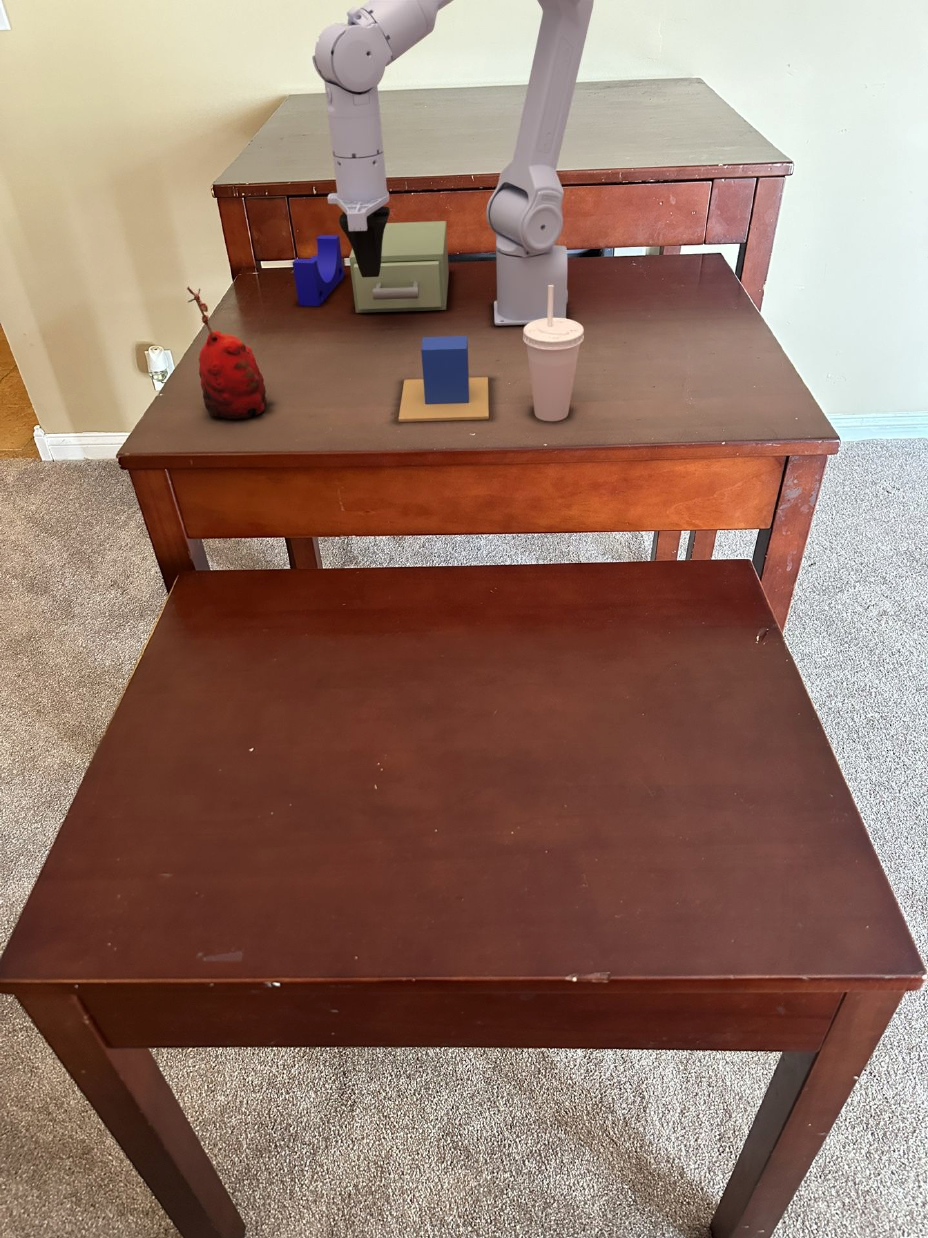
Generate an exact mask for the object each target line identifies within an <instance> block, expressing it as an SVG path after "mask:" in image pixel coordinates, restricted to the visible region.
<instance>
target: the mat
mask: <svg viewBox="0 0 928 1238" xmlns="http://www.w3.org/2000/svg"><path fill="white" fill-rule="evenodd" d="M489 415H490V412H489V377H488V376H481V377H469V403H453V404H425V395H424V381H423V378H415V379H414V378H413V379H409V378H408V379H404V380H403V387H402V393H401V400H400V407H399V413H398V423H407V422H411V423H412V422H413V423H414V422H442V421H443V422H444V421H445V422H446V421H447V422H448V421H479V420H480V421H482V420H483V421H484V420H489V419H490V417H489Z"/></svg>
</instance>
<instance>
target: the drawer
mask: <svg viewBox="0 0 928 1238" xmlns="http://www.w3.org/2000/svg"><path fill="white" fill-rule="evenodd" d="M354 275H355V284H356V292H357V301H358V309H388V308H418V307H441V290H440V272H439V261H437V260H420V261H392V262H381V268H380V273H379V277H362V276H361V273H360V271H359V268H358V264H354Z"/></svg>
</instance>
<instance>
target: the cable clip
mask: <svg viewBox="0 0 928 1238" xmlns="http://www.w3.org/2000/svg"><path fill="white" fill-rule="evenodd" d="M316 246H317V248H316V249H317V255H312V256H311V257H310V258H295V259H294V260H293V261H292V262H291V263H292V269H293V276H294V282H295V288H296V293H297V302H298V306H301V307H303V306H304V307H320V306H321V305H322V304H323V302H324V301H325V300H326V299H327V298H328V297H329V296H330V294H331V293H332V292H333V291H334V290H335V288H336V287H337V286H338V285H339V284H340V282H342V280H343V279H344V278H345V272H344V271H345V270H344V265H343V264H344V263H343V257H342V255H343V254H342V248H341V239H340V235H328V234H327V235H324V234H323V235H322V234H320V235H319V236H317V238H316Z"/></svg>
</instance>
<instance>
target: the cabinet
mask: <svg viewBox="0 0 928 1238" xmlns="http://www.w3.org/2000/svg"><path fill="white" fill-rule="evenodd" d="M447 231H448V229H447V221H446V220H437V221H436V220H435V221H434V220H433V221H413V222H412V221H411V222H410V221H409V222H408V221H407V222H387V223H386V226H385V229H384V234H383V242H382V257H381V262H392V261H420V260H437V261H439V272H440V290H441V307H418V308H388V309H358V301H357V292H356V284H355V275H354V264H357V261H356V258H355V255H354V251H353V249H352V248H351V251H350V254H349V257H348V258H349V266H350V275H351V284H352V292H353V300H354V301H353V302H354V308H355V309H354V310H355V313H356V314H357V313H358V314H359V313H389V312H390V313H391V312H419V311H420V312H421V311H422V312H423V311H424V312H425V311H446V310H447V301H448V298H447V297H448V287H449V276H450V275H449V270H450V269H449V251H448V232H447Z"/></svg>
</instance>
